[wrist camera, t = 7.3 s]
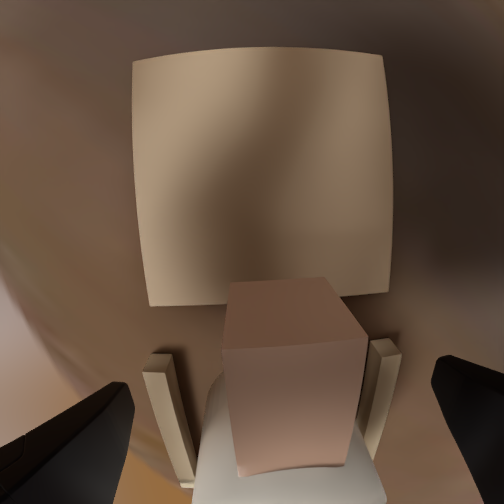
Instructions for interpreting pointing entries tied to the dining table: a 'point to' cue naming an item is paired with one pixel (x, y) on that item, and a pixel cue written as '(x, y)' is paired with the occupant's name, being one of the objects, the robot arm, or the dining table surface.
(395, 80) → the dining table surface
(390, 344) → the beige u-shaped bar frame
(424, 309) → the dining table surface
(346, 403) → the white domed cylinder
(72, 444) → the robot arm
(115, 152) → the dining table surface
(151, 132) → the coaster
